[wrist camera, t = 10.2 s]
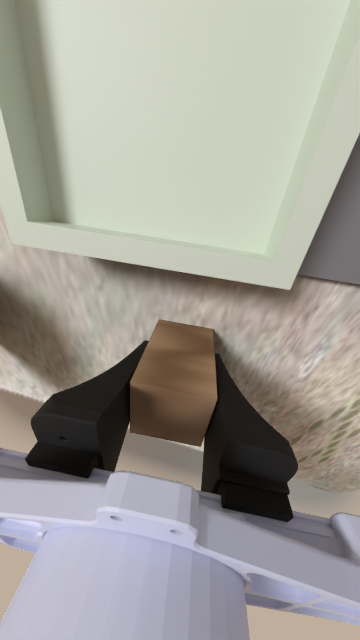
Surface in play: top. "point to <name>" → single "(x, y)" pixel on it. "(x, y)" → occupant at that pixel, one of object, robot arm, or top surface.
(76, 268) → the top surface
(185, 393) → the walnut block
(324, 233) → the mat
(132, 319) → the top surface
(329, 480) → the top surface
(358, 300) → the top surface
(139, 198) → the pale green tray
